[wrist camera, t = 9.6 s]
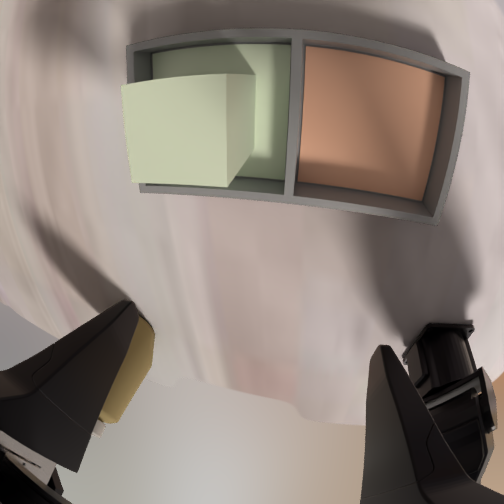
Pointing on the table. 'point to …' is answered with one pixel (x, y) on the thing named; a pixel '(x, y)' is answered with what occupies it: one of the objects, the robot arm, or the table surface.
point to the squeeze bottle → (128, 376)
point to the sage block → (189, 128)
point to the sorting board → (328, 118)
